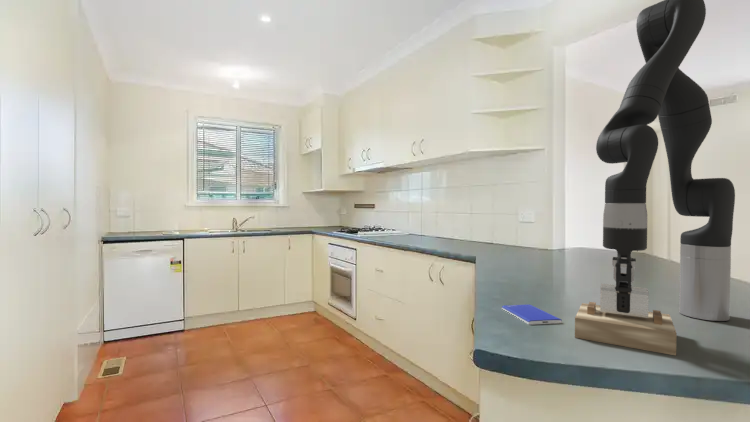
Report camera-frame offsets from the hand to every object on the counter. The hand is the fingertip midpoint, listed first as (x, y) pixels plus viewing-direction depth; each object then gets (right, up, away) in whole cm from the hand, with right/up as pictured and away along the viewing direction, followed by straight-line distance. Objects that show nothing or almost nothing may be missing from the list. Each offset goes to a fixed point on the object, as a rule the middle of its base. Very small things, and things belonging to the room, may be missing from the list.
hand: (623, 308), depth 77 cm
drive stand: (0, -6, 0) cm, 6 cm away
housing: (0, -1, 0) cm, 1 cm away
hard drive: (-13, -6, +14) cm, 20 cm away
